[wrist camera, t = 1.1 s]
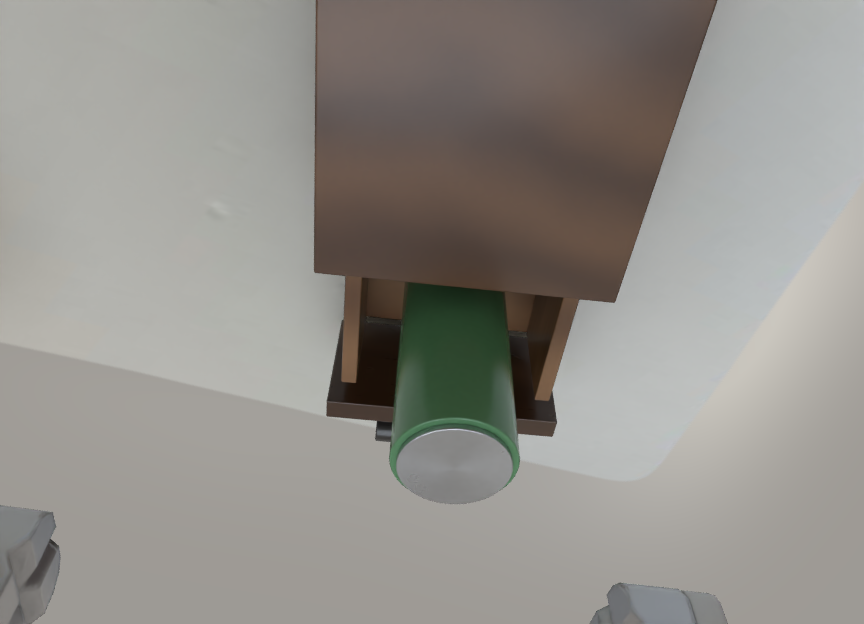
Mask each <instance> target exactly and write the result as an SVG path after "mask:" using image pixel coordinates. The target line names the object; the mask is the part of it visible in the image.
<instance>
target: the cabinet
mask: <svg viewBox="0 0 864 624" xmlns="http://www.w3.org/2000/svg"><path fill="white" fill-rule="evenodd" d="M716 3H717V0H316V52H315V197H314V272H315V273H322V274H332V275H342V276H352V277H362V278H372V279H382V280H392V281H402V282H412V283H422V284H432V285H442V286H452V287H462V288H472V289H482V290H492V291H502V292H512V293H522V294H532V295H542V296H552V297H562V298H572V299H582V300H592V301H602V302H612V303H614V302H615V301H616V298H617V295H618V292H619V289H620V286H621V283H622V280H623V277H624V274H625V271H626V269H627V266H628V263H629V260H630V257H631V254H632V251H633V248H634V245H635V242H636V239H637V236H638V233H639V230H640V227H641V224H642V221H643V218H644V215H645V212H646V209H647V206H648V204H649V201H650V198H651V195H652V192H653V189H654V186H655V183H656V180H657V177H658V174H659V171H660V168H661V165H662V162H663V159H664V156H665V153H666V150H667V147H668V144H669V141H670V139H671V136H672V133H673V130H674V127H675V124H676V121H677V118H678V115H679V112H680V109H681V106H682V103H683V100H684V97H685V94H686V91H687V88H688V85H689V82H690V79H691V76H692V74H693V71H694V68H695V65H696V62H697V59H698V56H699V53H700V50H701V47H702V44H703V41H704V38H705V35H706V32H707V29H708V26H709V23H710V20H711V17H712V14H713V11H714V9H715V6H716Z"/></svg>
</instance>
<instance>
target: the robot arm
mask: <svg viewBox="0 0 864 624" xmlns="http://www.w3.org/2000/svg"><path fill="white" fill-rule="evenodd" d="M55 528H56V525H55V520H54V516H53V512H48V511H41V510H32V509H26V508H18V507H11V506H3V505H0V624H31V623H32V622H34V621H35V620H36V619H38V618H39V617H40V616H42V615H43V614H44V613H45V611H46V609H47V606H48V604H49V602H50V600H51V597H52V595H53V592H54V589H55V585H56V581H57V578H58V574H59V569H60V550H59V546H58V545H57V544H56V543H55V542H54V541H52V540H51V539H50V538H51V536H52V534H53V532H54V530H55ZM607 598H608V603H609V605H608V606H606V607H604V608H602V609H600V610H598V611H596V613H595V615H594V617H593V618H592V620H591V622H590V624H728V623H727V620H726V617H725V614H724V611H723V609H722V606H721V604H720V602H719V600H718V599H717V598H716V597H715V595H711V594H709V593H701V592H692V591H682V590H679V589H673V588H664V587H654V586H644V585H636V584H626V583H618V584H615V585H613V586H612V588H611V589H610V591H609V592H608V594H607Z"/></svg>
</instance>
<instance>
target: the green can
mask: <svg viewBox="0 0 864 624" xmlns="http://www.w3.org/2000/svg"><path fill="white" fill-rule="evenodd" d="M389 461H390V467H391V470H392V472H393V474H394V475H395V477H396V478H397V480H398V481H399V482H400V483H401V484H402V485H403V486H405V487H406V488H407V489H409V490H410V491H411V492H413V493H414V494H416V495H418V496H420V497H422V498H424V499H427V500H430V501H434V502H439V503H445V504H466V503H471V502H476V501H480V500H483V499H486V498H488V497H490V496H492V495H494V494H495V493H497V492H498V491H500V490H501V489H503V488H504V487H505V486H507V485H508V484H509V483H510V482H511V480H512V479H513V478H514V477H515V474H516V473H517V471H518V468H519V463H520V456H519V445H518V433H517V422H516V411H515V399H514V388H513V377H512V366H511V354H510V343H509V332H508V320H507V309H506V298H505V292H502V291H492V290H482V289H472V288H462V287H452V286H442V285H432V284H422V283H412V282H405V285H404V297H403V308H402V319H401V331H400V342H399V353H398V365H397V376H396V387H395V399H394V410H393V421H392V433H391V444H390V456H389Z"/></svg>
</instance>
